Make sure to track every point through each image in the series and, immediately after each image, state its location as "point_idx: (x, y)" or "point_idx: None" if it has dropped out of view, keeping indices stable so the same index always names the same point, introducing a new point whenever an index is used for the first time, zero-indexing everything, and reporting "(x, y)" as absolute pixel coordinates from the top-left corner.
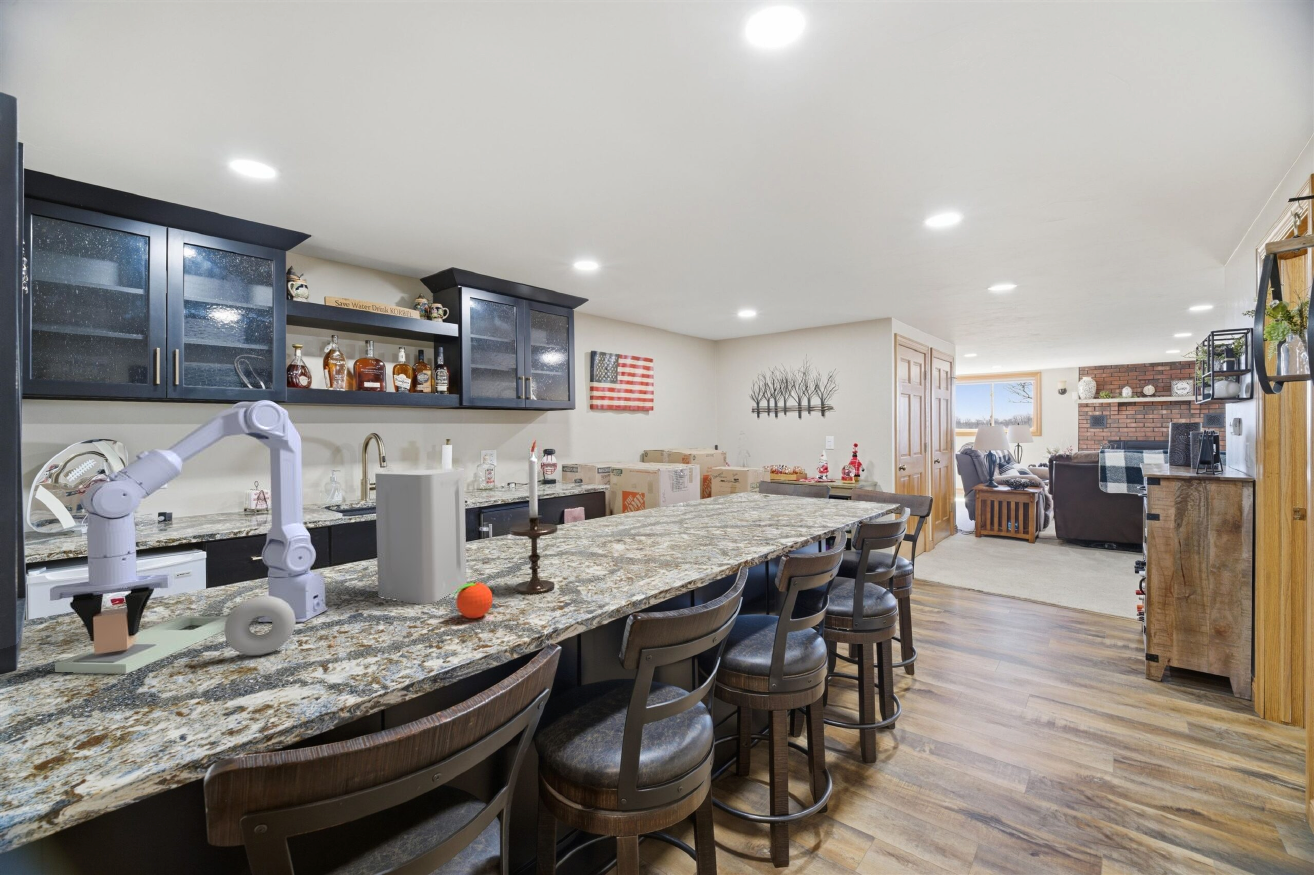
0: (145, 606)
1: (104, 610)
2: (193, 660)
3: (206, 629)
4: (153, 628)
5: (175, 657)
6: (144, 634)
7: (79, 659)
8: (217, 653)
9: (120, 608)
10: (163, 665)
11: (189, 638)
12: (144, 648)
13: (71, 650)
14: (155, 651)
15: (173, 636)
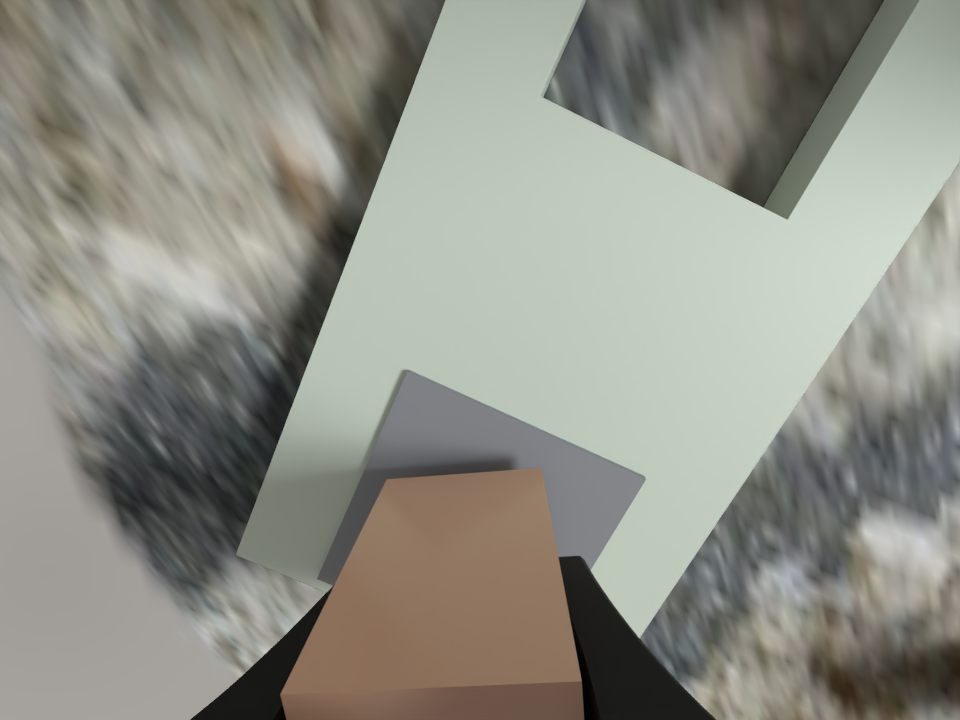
0: (698, 706)
1: (301, 716)
2: (833, 614)
3: (885, 249)
4: (486, 36)
5: (739, 538)
6: (483, 192)
7: (338, 571)
8: (932, 564)
9: (444, 702)
10: (713, 623)
11: (798, 393)
12: (605, 526)
13: (108, 171)
14: (675, 579)
15: (696, 327)
